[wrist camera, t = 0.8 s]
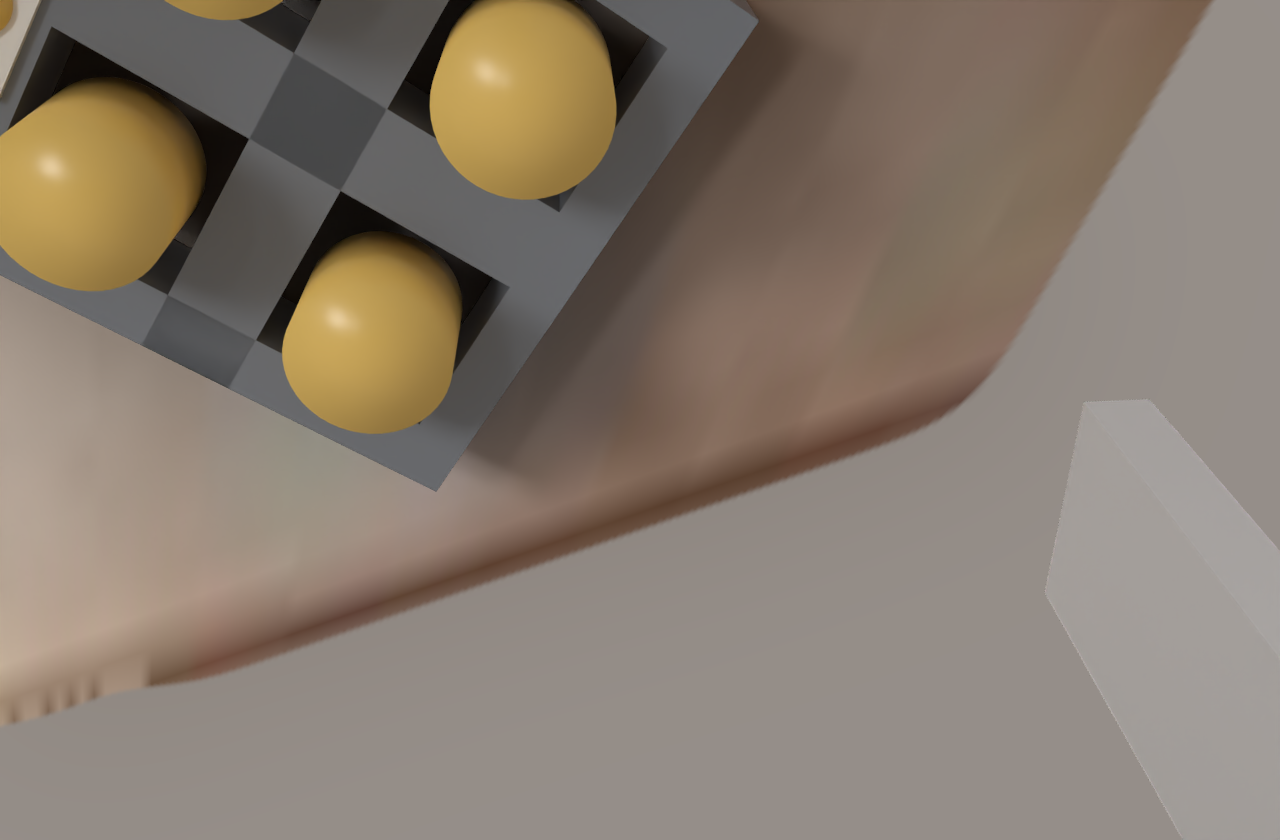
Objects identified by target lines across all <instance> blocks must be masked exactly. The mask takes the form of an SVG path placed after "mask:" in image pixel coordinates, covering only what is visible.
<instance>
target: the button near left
mask: <svg viewBox="0 0 1280 840" xmlns="http://www.w3.org/2000/svg"><path fill="white" fill-rule="evenodd" d="M165 1H166V2H168V3H169V4H171V5H173V6H175V7H177V8H179V9H181V10H183V11H185V12H188V13H190V14H193V15H196V16H200V17H204V18H208V19H216V20H238V19H244V18H249V17H252V16H256V15H259V14H261V13H263V12H266V11H268V10H270V9H272V8H273V7H275V6H276V5H278V4H279V3H281V2H282V1H283V0H165Z"/></svg>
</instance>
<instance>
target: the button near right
mask: <svg viewBox="0 0 1280 840" xmlns="http://www.w3.org/2000/svg"><path fill="white" fill-rule="evenodd" d="M430 116H431V122H432V126H433V131H434V133H435V136H436V139H437V142H438V144H439V146H440V148H441V149H442V151H443V153H444V155H445V156H446V158H447V159H448V160H449V162H450V163H451V164H452V165H453V167H454V168H455V169H456V170H457V171H458V172H459V173H460V174H461V175H462V176H464V177H465V178H466V179H467V180H469V181H470V182H471V183H473V184H474V185H476V186H478V187H479V188H481V189H483V190H485V191H487V192H490V193H493V194H495V195H498V196H502V197H506V198H511V199H520V200H531V199H540V198H546V197H550V196H553V195H557V194H559V193H562V192H564V191H566V190H568V189H570V188H572V187H573V186H575V185H577V184H578V183H580V182H581V181H582V180H583V179H585V178H586V177H587V176H588V175H589V174H590V173H591V172H592V171H593V170H594V169H595V168H596V167H597V165H598V164H599V163H600V161H601V160H602V158H603V157H604V155H605V153H606V151H607V150H608V147H609V145H610V142H611V140H612V137H613V133H614V129H615V123H616V98H615V91H614V84H613V77H612V70H611V63H610V56H609V51H608V48H607V44H606V41H605V39H604V37H603V34H602V32H601V30H600V29H599V27H598V25H597V24H596V22H595V21H594V20H593V18H592V17H591V16H590V14H589V13H588V12H587V11H586V10H585V9H584V8H583V7H582V6H581V5H579V4H578V3H577V2H575V1H574V0H475V1H474V2H473V3H472V4H470V5H469V6H468V7H467V8H466V9H465V10H464V11H463V12H462V14H461V15H460V16H459V17H458V19H457V20H456V22H455V23H454V25H453V27H452V29H451V31H450V33H449V35H448V38H447V41H446V44H445V47H444V50H443V53H442V56H441V58H440V61H439V64H438V67H437V70H436V73H435V76H434V79H433V82H432V87H431V93H430Z"/></svg>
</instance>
